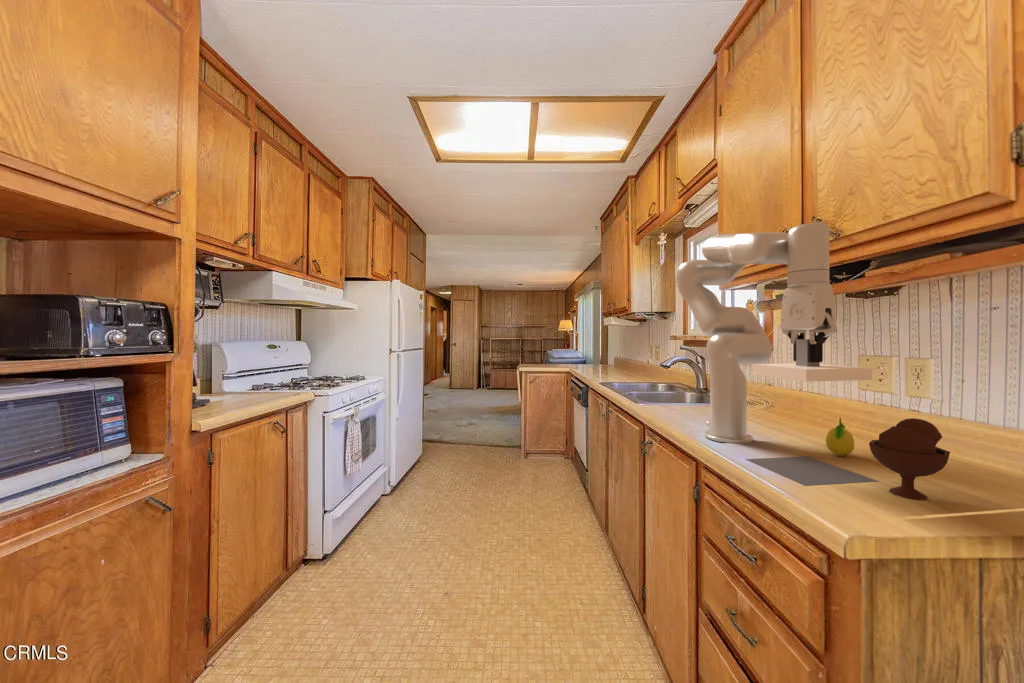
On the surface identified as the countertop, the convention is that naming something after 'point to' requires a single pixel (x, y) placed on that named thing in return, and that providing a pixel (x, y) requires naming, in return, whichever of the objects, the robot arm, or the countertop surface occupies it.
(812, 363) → the lid
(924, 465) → the ice cream bowl
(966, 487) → the countertop surface
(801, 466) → the mat
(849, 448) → the lemon
